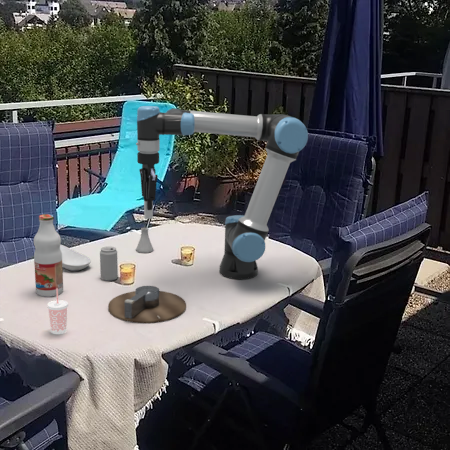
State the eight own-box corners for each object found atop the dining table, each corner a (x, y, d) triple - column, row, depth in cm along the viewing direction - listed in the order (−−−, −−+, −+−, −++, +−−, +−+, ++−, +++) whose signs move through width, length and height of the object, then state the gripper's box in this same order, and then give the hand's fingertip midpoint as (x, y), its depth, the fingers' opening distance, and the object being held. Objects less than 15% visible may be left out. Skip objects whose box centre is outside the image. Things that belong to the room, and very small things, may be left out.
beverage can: (114, 282, 235) (113, 251, 231) (97, 280, 236) (97, 250, 232) (120, 276, 241) (119, 246, 237) (104, 275, 242) (103, 245, 238)
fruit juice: (68, 292, 223) (65, 216, 216) (44, 299, 217) (40, 220, 209) (55, 285, 230) (51, 211, 222) (31, 291, 224) (26, 215, 216)
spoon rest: (97, 268, 249) (96, 251, 247) (72, 276, 240) (72, 258, 238) (60, 255, 263) (59, 239, 261) (35, 262, 254) (35, 245, 252)
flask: (144, 247, 277) (144, 225, 274) (156, 250, 273) (156, 228, 270) (132, 251, 271) (132, 228, 268) (145, 254, 267) (145, 232, 264)
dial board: (170, 289, 230) (170, 285, 230) (197, 316, 207) (197, 312, 207) (99, 298, 219) (99, 295, 219) (120, 328, 196) (120, 324, 196)
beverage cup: (44, 333, 192) (42, 290, 188) (56, 325, 197) (54, 283, 193) (61, 336, 190) (59, 293, 186) (73, 328, 195) (71, 286, 191)
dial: (142, 297, 218) (142, 282, 216) (163, 301, 215) (163, 286, 214) (117, 315, 202) (116, 299, 201) (139, 320, 200) (139, 303, 198)
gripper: (132, 149, 221) (132, 214, 227) (143, 155, 210) (144, 223, 216) (152, 148, 224) (152, 212, 231) (165, 154, 213) (164, 221, 219)
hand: (148, 217), depth 223 cm, fingers closed
